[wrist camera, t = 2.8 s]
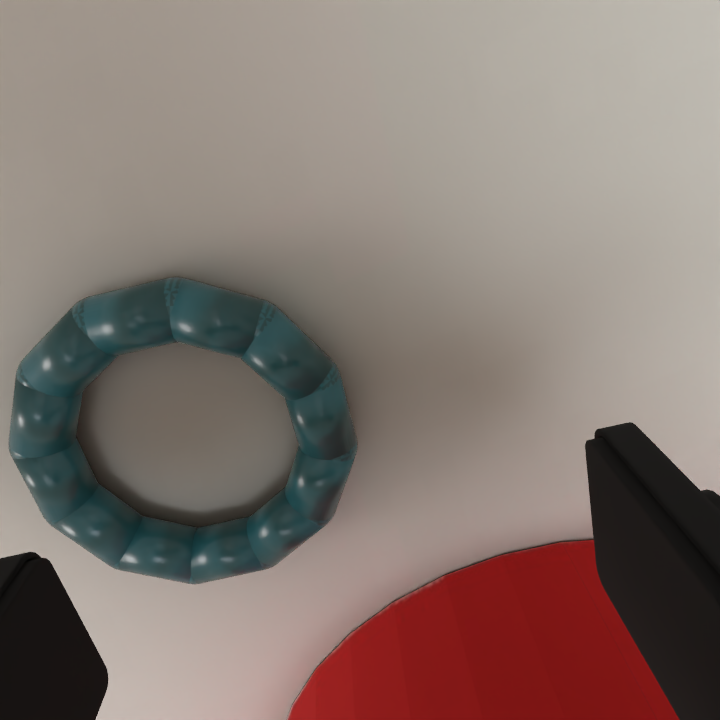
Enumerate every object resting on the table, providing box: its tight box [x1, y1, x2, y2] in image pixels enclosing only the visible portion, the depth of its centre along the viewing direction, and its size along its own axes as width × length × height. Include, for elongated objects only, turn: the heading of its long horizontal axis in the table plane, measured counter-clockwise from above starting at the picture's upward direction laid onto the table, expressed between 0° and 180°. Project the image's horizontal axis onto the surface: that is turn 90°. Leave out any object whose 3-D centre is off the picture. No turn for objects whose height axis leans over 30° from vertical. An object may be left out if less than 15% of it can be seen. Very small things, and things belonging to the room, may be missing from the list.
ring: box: [9, 277, 357, 584], centre depth 15 cm, size 8×8×1 cm
